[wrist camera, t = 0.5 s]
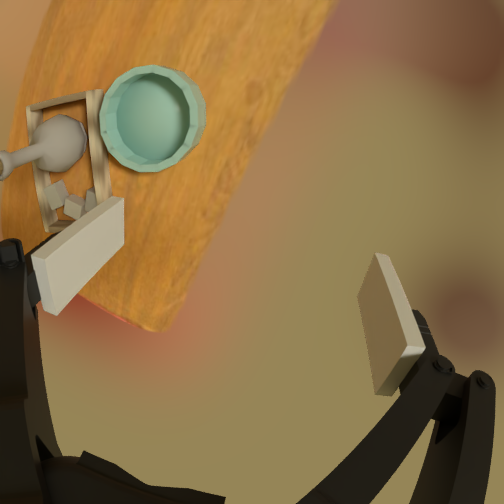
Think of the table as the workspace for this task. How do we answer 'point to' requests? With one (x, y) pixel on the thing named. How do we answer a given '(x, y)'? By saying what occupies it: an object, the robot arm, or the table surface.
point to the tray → (96, 150)
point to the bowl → (152, 117)
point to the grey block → (56, 194)
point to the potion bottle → (49, 147)
